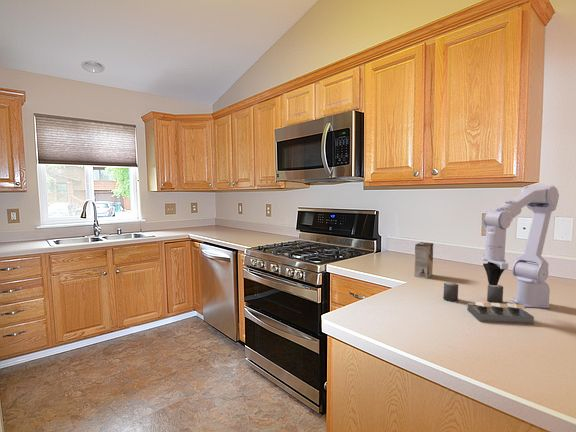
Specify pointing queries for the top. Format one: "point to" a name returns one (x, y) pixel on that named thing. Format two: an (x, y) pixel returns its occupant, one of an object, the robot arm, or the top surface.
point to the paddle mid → (499, 305)
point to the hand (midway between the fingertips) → (492, 284)
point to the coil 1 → (450, 292)
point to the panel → (500, 314)
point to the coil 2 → (495, 294)
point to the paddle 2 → (516, 305)
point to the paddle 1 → (483, 304)
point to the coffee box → (423, 260)
